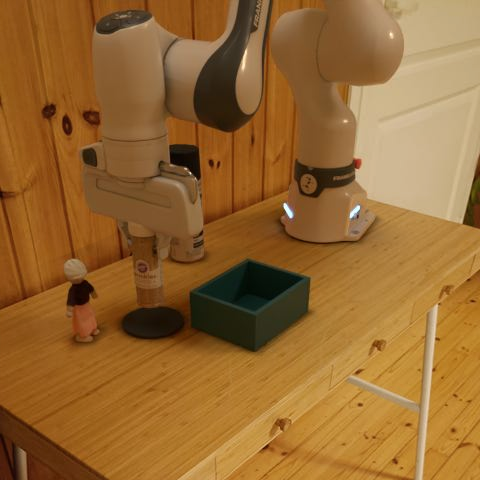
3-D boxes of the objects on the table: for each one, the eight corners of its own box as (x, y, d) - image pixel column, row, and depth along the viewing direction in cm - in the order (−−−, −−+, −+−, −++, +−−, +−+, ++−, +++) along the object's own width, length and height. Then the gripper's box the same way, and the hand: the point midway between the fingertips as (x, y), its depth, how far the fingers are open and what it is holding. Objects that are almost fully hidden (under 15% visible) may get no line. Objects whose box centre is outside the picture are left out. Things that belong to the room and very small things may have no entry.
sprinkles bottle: (134, 309, 95) (124, 224, 86) (139, 295, 98) (130, 212, 90) (164, 309, 95) (157, 224, 86) (167, 296, 98) (161, 213, 90)
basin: (247, 291, 108) (247, 258, 104) (308, 311, 102) (311, 277, 98) (190, 326, 98) (189, 291, 94) (255, 351, 92) (255, 315, 88)
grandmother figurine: (83, 323, 99) (69, 248, 91) (106, 326, 98) (94, 250, 90) (65, 348, 93) (49, 270, 85) (89, 351, 92) (75, 273, 84)
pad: (151, 302, 104) (151, 300, 104) (196, 319, 100) (196, 317, 99) (109, 326, 98) (108, 323, 98) (155, 345, 93) (155, 343, 93)
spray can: (199, 264, 116) (194, 154, 104) (165, 261, 117) (156, 152, 105) (207, 251, 121) (204, 144, 109) (175, 248, 122) (168, 141, 110)
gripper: (211, 163, 80) (214, 263, 89) (101, 139, 89) (113, 231, 98) (180, 175, 76) (186, 278, 85) (69, 148, 85) (84, 244, 94)
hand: (146, 253), depth 91 cm, fingers closed on sprinkles bottle, 4 cm apart
